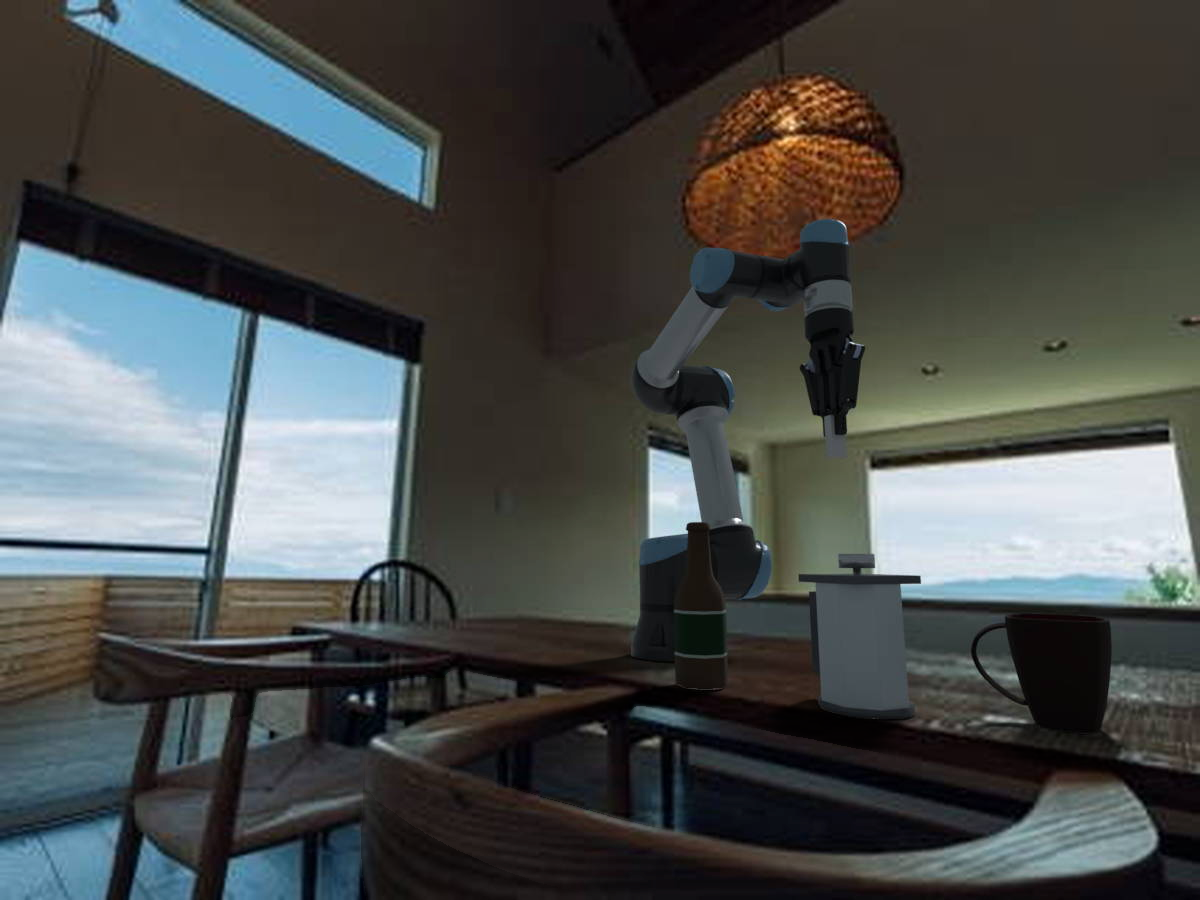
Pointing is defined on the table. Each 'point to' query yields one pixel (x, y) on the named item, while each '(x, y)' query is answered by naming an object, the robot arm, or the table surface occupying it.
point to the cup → (1058, 668)
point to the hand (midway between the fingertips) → (836, 456)
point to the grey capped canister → (860, 644)
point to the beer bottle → (700, 618)
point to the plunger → (856, 562)
